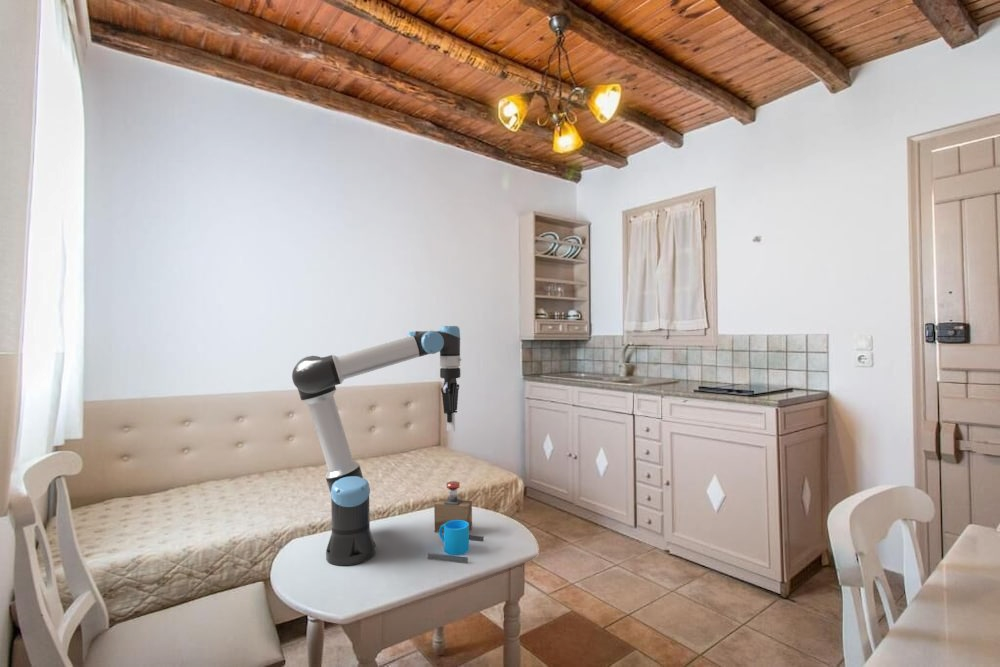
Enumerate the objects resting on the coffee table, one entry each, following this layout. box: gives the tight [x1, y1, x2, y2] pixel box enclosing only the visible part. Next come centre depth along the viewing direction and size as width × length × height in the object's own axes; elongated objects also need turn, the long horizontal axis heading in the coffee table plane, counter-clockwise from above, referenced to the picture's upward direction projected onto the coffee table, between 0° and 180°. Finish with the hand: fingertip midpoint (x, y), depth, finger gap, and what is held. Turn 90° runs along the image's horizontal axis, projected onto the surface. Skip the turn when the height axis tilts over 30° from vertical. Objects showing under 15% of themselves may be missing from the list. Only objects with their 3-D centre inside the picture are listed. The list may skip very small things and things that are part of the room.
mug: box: [438, 520, 470, 556], centre depth 159 cm, size 12×8×8 cm
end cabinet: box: [433, 497, 473, 534], centre depth 173 cm, size 6×12×11 cm, turn 75°
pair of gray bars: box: [427, 534, 485, 564], centre depth 158 cm, size 13×17×2 cm
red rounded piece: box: [446, 480, 460, 501], centre depth 173 cm, size 5×5×6 cm
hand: (450, 430), depth 180 cm, fingers closed
